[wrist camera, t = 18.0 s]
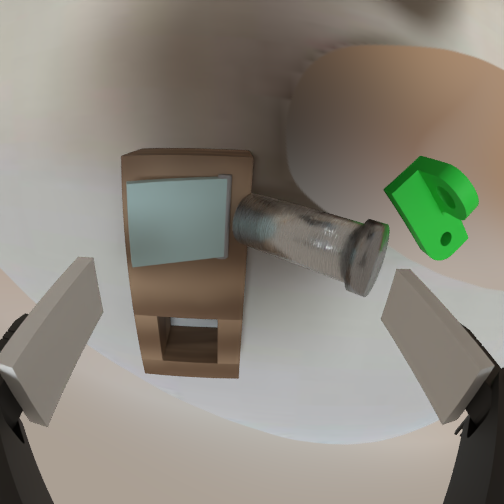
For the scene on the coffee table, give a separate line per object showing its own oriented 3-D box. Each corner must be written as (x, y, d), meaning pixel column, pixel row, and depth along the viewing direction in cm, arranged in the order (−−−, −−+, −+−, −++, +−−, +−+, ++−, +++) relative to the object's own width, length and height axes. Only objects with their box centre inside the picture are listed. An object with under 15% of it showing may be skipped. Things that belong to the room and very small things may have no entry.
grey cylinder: (229, 195, 21) (373, 238, 16) (269, 183, 24) (393, 216, 19) (228, 257, 23) (356, 310, 18) (266, 237, 27) (379, 278, 21)
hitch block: (142, 148, 27) (121, 155, 21) (248, 150, 27) (253, 157, 22) (154, 338, 35) (145, 373, 30) (236, 342, 36) (238, 378, 31)
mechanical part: (382, 189, 30) (423, 211, 23) (420, 155, 29) (466, 169, 21) (427, 262, 34) (464, 295, 27) (459, 232, 33) (499, 258, 25)
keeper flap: (229, 173, 22) (126, 178, 19) (234, 176, 22) (126, 181, 19) (225, 253, 25) (131, 263, 22) (229, 258, 24) (132, 269, 21)
